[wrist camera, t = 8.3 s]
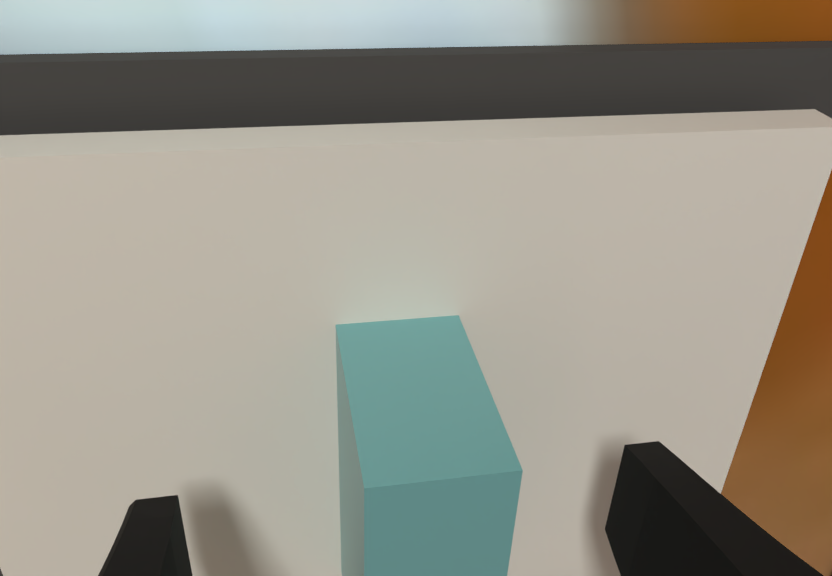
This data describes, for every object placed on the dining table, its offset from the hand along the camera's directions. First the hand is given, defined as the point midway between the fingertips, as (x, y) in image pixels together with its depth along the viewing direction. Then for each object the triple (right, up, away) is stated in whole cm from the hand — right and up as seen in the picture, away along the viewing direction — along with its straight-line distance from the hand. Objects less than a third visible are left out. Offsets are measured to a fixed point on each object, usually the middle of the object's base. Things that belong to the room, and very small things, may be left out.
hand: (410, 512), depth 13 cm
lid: (0, +1, +2) cm, 2 cm away
